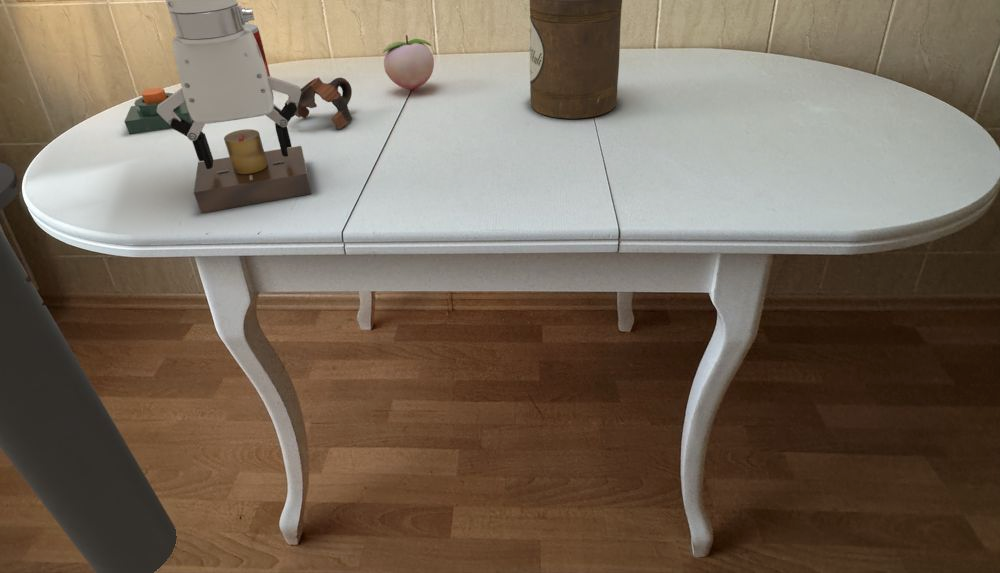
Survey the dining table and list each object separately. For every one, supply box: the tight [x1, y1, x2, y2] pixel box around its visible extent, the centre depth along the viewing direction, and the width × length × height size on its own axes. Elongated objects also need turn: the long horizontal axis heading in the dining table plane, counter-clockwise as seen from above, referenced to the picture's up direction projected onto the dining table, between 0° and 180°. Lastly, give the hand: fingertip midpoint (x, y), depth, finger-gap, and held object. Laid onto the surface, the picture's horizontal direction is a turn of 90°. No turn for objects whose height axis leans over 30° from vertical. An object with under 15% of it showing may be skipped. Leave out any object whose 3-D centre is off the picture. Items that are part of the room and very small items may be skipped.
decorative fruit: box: [382, 34, 435, 92], centre depth 114 cm, size 9×8×10 cm
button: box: [140, 87, 167, 103], centre depth 106 cm, size 4×4×2 cm
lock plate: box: [193, 145, 312, 214], centre depth 85 cm, size 14×10×3 cm
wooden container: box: [529, 0, 623, 120], centre depth 101 cm, size 15×15×22 cm
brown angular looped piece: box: [284, 77, 353, 130], centre depth 104 cm, size 12×10×8 cm
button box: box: [124, 92, 193, 135], centre depth 107 cm, size 10×8×4 cm
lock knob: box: [223, 128, 268, 174], centre depth 82 cm, size 4×4×5 cm
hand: (248, 158), depth 83 cm, fingers open, 9 cm apart
